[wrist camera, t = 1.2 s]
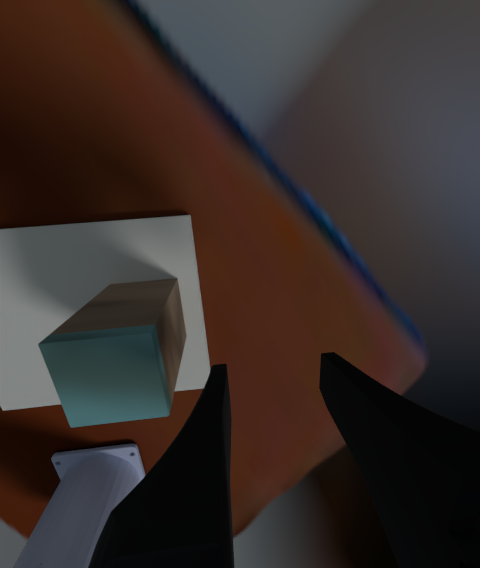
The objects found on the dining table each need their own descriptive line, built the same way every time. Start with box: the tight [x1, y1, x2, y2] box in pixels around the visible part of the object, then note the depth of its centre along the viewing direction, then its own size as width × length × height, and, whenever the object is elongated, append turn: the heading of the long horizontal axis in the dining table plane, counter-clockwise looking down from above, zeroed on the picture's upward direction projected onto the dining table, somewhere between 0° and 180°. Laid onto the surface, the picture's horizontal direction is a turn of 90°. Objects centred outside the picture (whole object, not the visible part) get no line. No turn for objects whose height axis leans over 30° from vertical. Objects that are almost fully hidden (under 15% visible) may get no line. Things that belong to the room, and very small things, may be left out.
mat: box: [0, 215, 210, 411], centre depth 20 cm, size 15×18×1 cm
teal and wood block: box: [38, 278, 187, 427], centre depth 16 cm, size 5×5×8 cm
